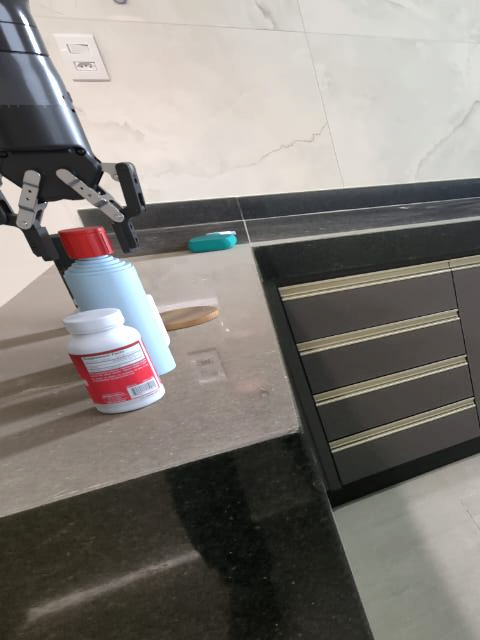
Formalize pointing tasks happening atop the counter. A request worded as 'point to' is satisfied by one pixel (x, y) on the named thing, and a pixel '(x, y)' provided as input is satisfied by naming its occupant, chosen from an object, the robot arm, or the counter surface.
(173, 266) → the counter surface
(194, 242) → the teal soap bar
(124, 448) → the counter surface
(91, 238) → the cap
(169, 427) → the counter surface
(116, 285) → the bottle
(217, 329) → the counter surface
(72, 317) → the pill bottle
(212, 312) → the coaster
